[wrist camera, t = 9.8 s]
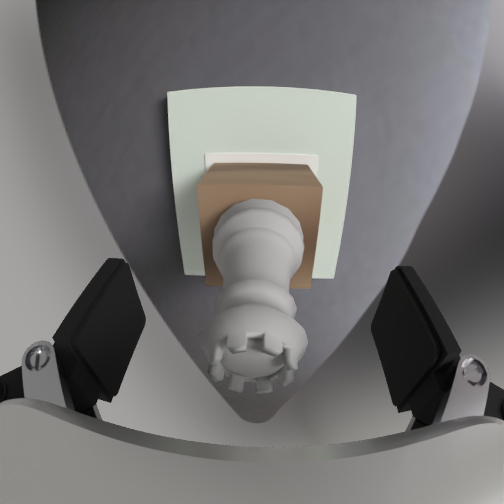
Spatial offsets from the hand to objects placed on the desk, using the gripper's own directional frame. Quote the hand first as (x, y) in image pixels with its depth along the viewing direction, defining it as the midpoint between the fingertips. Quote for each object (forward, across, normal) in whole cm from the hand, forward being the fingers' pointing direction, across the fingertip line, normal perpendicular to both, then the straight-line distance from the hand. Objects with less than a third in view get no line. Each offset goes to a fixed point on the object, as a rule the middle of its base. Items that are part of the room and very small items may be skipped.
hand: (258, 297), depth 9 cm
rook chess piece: (+5, 0, 0) cm, 5 cm away
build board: (+11, 0, 0) cm, 11 cm away
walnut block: (+10, 0, +1) cm, 10 cm away
